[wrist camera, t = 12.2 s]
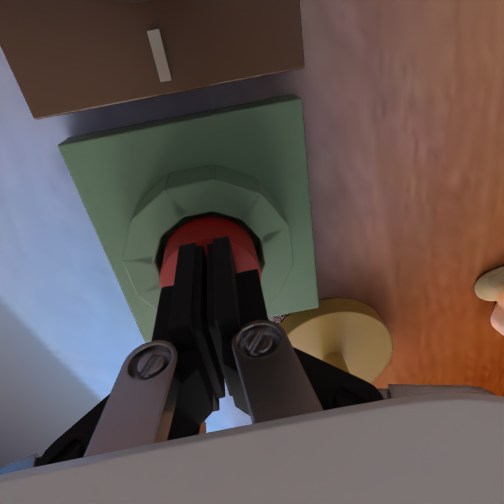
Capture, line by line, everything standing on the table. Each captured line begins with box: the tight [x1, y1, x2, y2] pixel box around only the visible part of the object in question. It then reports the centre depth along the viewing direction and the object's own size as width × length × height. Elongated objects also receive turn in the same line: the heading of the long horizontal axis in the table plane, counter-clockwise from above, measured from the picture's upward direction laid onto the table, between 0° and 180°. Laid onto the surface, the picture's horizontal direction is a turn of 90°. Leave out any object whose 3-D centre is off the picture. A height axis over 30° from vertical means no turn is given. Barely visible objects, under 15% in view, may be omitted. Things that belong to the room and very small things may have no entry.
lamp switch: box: [160, 216, 261, 289], centre depth 13 cm, size 4×4×2 cm
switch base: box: [58, 94, 319, 342], centre depth 15 cm, size 10×9×3 cm
